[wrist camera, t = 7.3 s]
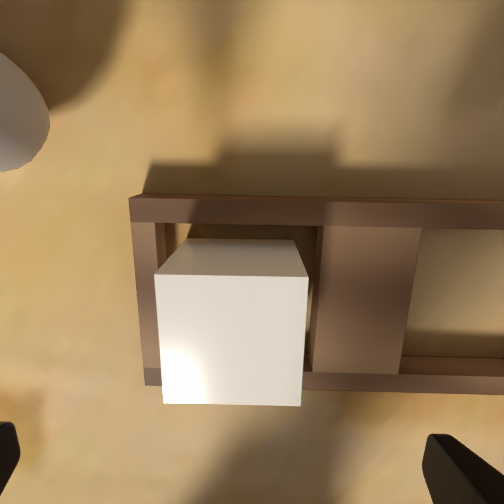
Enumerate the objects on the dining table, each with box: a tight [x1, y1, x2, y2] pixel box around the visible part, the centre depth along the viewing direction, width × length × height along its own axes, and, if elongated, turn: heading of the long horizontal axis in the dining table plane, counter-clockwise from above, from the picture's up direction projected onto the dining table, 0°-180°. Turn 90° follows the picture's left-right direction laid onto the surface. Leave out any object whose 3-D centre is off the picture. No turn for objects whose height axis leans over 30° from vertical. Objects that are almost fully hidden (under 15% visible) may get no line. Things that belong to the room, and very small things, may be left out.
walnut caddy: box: [129, 194, 504, 395], centre depth 15 cm, size 9×20×2 cm, turn 89°
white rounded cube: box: [154, 238, 309, 406], centre depth 14 cm, size 5×5×5 cm
